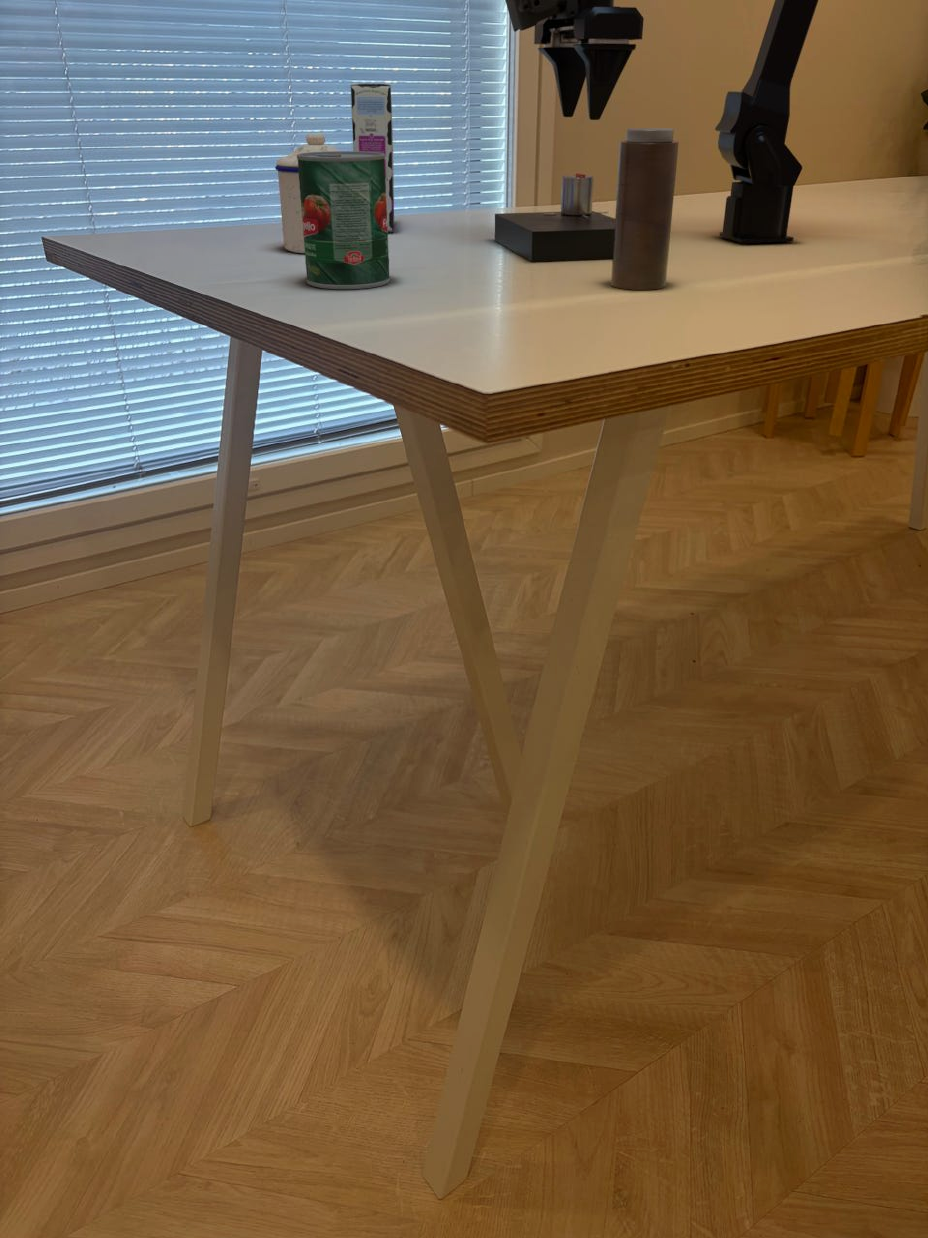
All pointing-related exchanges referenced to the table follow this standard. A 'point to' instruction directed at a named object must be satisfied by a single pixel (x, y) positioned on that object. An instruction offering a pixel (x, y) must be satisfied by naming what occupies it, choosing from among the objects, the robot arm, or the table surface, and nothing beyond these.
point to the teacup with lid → (295, 192)
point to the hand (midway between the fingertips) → (580, 118)
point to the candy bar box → (375, 131)
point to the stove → (556, 235)
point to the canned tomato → (344, 219)
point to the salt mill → (644, 208)
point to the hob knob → (577, 194)
